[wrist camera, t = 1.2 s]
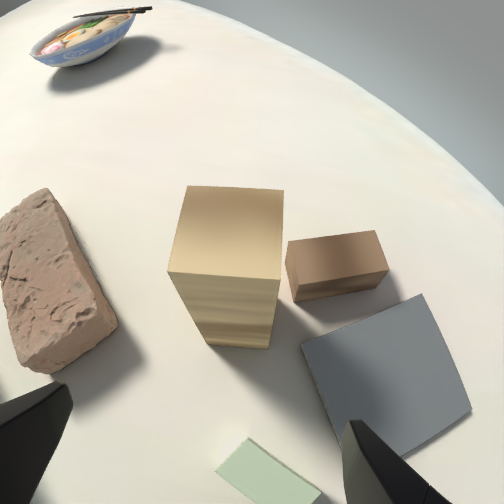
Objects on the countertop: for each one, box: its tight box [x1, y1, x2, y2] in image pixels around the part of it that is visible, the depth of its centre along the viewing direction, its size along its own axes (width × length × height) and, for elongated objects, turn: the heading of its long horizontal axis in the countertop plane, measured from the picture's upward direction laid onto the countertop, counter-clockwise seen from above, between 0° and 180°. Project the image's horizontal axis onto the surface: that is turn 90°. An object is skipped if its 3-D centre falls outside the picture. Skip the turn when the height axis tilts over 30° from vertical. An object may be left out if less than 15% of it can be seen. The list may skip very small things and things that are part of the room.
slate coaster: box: [301, 293, 472, 456], centre depth 21 cm, size 11×11×1 cm
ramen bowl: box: [29, 6, 152, 67], centre depth 46 cm, size 25×23×8 cm
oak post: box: [167, 186, 284, 349], centre depth 19 cm, size 4×4×12 cm
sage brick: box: [215, 437, 322, 504], centre depth 17 cm, size 6×3×3 cm, turn 49°
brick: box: [0, 188, 118, 374], centre depth 24 cm, size 17×8×5 cm, turn 39°
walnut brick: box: [285, 230, 390, 303], centre depth 24 cm, size 7×4×4 cm, turn 99°
